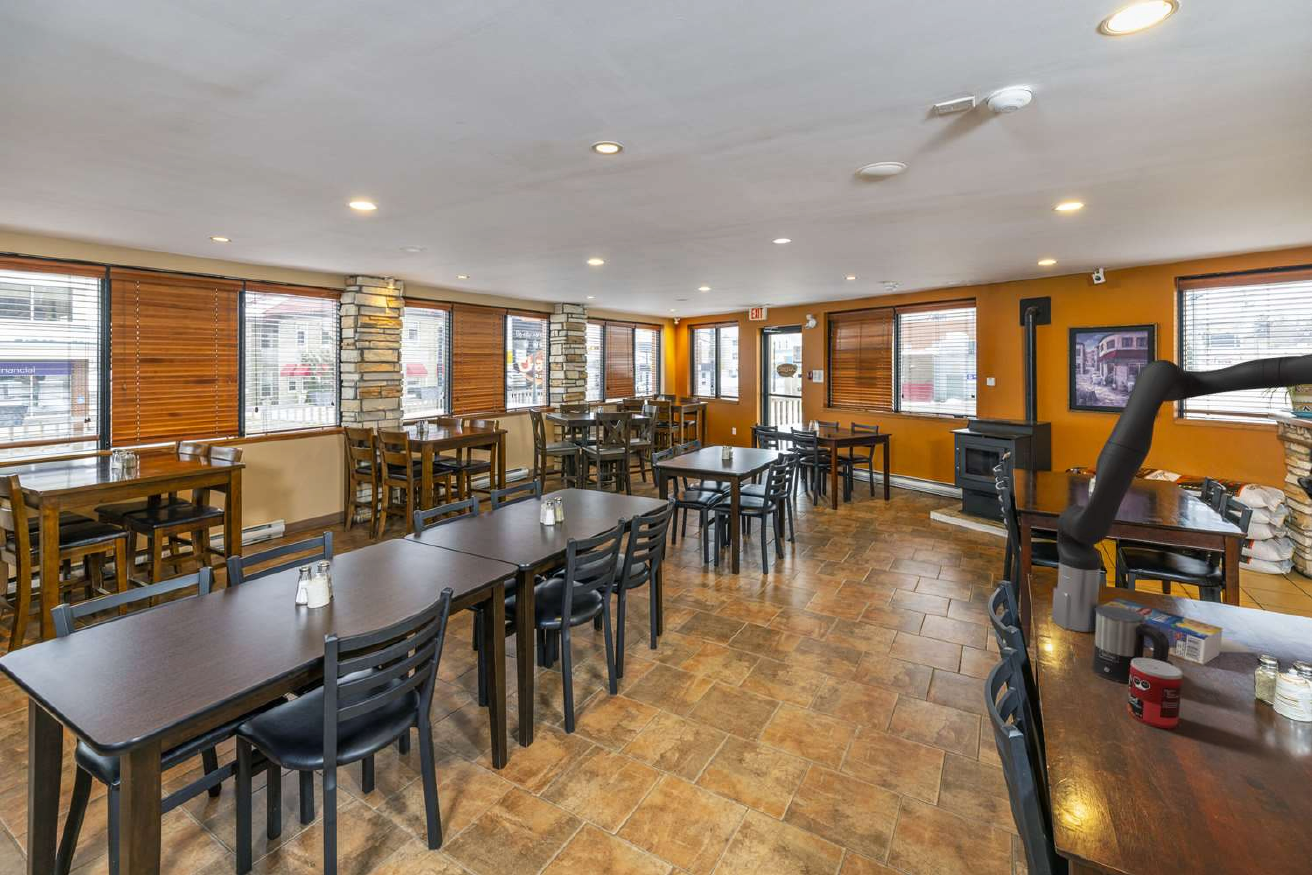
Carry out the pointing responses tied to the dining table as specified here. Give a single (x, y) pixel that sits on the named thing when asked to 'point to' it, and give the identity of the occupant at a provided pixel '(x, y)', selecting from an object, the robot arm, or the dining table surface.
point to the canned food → (1154, 692)
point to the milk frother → (1123, 642)
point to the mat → (1230, 647)
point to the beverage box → (1179, 633)
